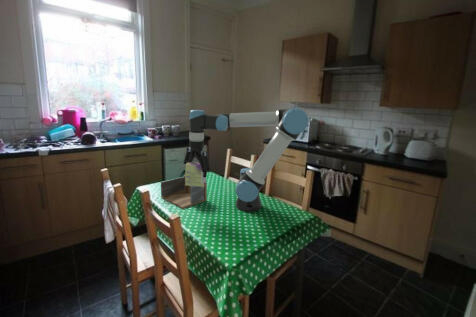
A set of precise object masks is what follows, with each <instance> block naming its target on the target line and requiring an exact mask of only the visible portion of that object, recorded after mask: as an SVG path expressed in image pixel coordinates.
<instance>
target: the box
mask: <svg viewBox="0 0 476 317" xmlns="http://www.w3.org/2000/svg"><path fill="white" fill-rule="evenodd" d="M204 169H205V168H204ZM184 171H185V173H184V175H185V185H188V186H199V187H204V186H205V185H206V183H207V182H206V183H201V171H202V168H201V166H200V163H199V162H193V161H192V162H188V163H187V164H185V169H184Z"/></svg>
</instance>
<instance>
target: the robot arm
mask: <svg viewBox="0 0 476 317" xmlns="http://www.w3.org/2000/svg"><path fill="white" fill-rule="evenodd" d="M308 126H309V116H308V114H307V113H306V111H305V110H303V109H302V108H300V107H289V108H288V107H287V108H281V109H277V110H276V111H256V112H236V113H235V112H231V113H224V112H223V113H222V112H221V113H218V114H206V113H205V110H202V109H191V110H190V112H189V132H188V133H189V135H188V139H189V144H188V146H189V147H186V153H185V156H184V160H183V164H184V165H186V164H187V163H188V162H193V160H194V159H196V160H197V161H198V163H200V166H201V168H202V171H201V183H207V176H208V171H210V170H211V168H210V164H209V160H208V152H207V151H203V149H204V148H205V147H204V146H205V130H211V131H220V132H221V131H222V132H225V131H227V130H228V128H241V127H242V128H243V127H251V128H252V127H275V128H276V129H275V130H276V131H275V133H274V134H273V136H272V138H271V139H270V140H269V142H268V143H267V145H266V146H265V148H264V149H263V151H262V153H261V154H260V155H259V157H258V158H257V159H256V161H255V163H254V164H253V165H252V167H250V168H249V167H248V168H247V167H244V168H241V169H240V173H239V174H240V176H239V180H238V181H237V184H236V186H235V193H236V197H237V198H236V201H235V207H236V209H238V210H240V211H242V212H252V213H253V212H257V211H259V210H261V208H262V201H261V197H260V192H261V190H262V188H263V186H264V185H265V183H266V181H265V179H266V177H267V176H268V175H269V173H270V171H271V170H272V169H273V168H274V167H275V164H276V163H277V162H278V160H279V159H280V158H281V156H282V155H283V153H284V152H285V151H286V149H287V148H288V146H289V145H290V144H291V142H293V141H296V140H297V139H298V138H299V136H300V135H301V134H302V133H303V132H304V131H305V130H306V129H307V128H308ZM204 168H205V169H204Z"/></svg>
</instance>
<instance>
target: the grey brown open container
mask: <svg viewBox="0 0 476 317" xmlns="http://www.w3.org/2000/svg"><path fill="white" fill-rule="evenodd" d="M207 188H208V183H207V182H206V185H205V186H204V187H199V186H188V185H185V174H183V176H180V177H176V178H173V179H171V178H170V179H168V180H163V181H160V198H161V199H163V200H165V201H167V202H169V203H170V204H172V205H174V206H176V207H178V208H180V209H182V210H184V209H186V208H189V207H192V206H195V205H198V204H200V203H203V202H206V201H207V200H208V199H207V198H208V197H207V196H208V194H207V190H208V189H207Z"/></svg>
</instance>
